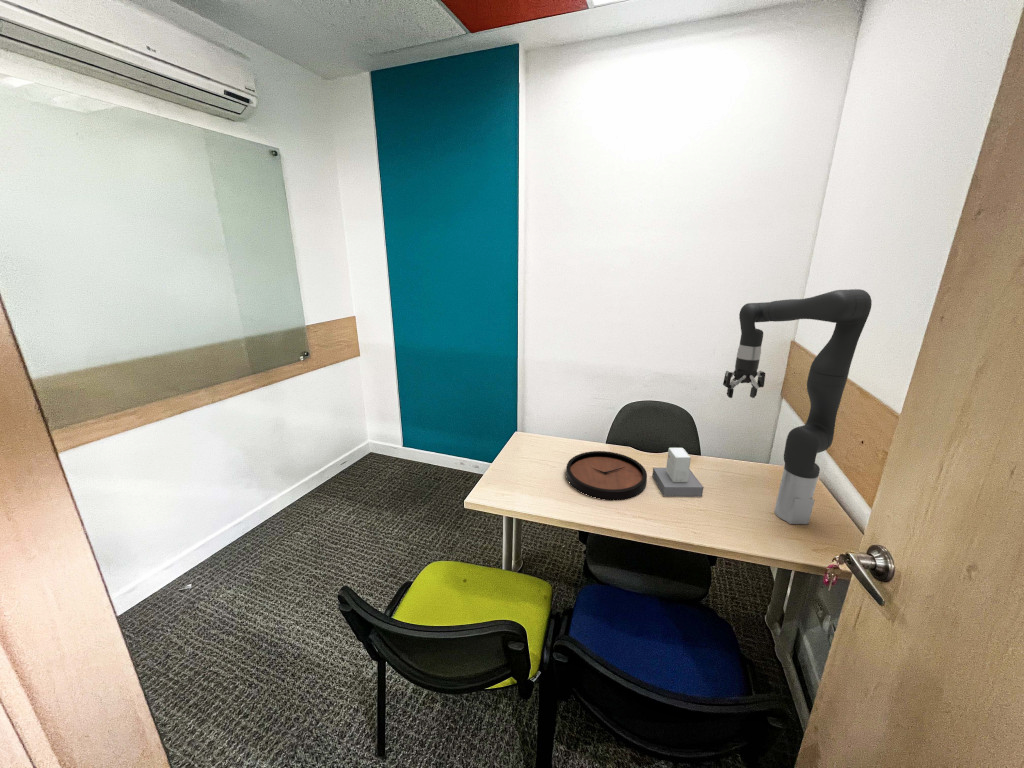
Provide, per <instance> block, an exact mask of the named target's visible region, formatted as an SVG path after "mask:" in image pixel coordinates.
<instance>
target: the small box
mask: <svg viewBox="0 0 1024 768" xmlns="http://www.w3.org/2000/svg"><path fill="white" fill-rule="evenodd" d="M691 459H692V457H691V456H690V455H689V453H688V452H687V451H686V449H684V448H683V447H669V448H668V450H667V459H666V460H667V461H666V466H665V468H666V472H667V474H668V475H669V477H670V478H671V480H672V481H673V482H688V476H689V469H690V466H691Z"/></svg>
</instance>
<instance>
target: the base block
mask: <svg viewBox="0 0 1024 768" xmlns="http://www.w3.org/2000/svg"><path fill="white" fill-rule="evenodd" d="M652 478H653V480H654V482H655V484H656V485H657V487H658V489H659V490H660V492H661V494H662V496H663V497H675V498H677V497H681V498H682V497H683V498H684V497H691V498H692V497H693V498H694V497H695V498H696V497H697V498H698V497H699V498H702V497H703V493H704V486H703V484H702V483H701V482H700V481H699V479H698V478H697V477H696V475H695V473H693V471H692V470H691V469H690V468H689V476H688V482H673V481H672V480H671V478H670V477H669V475H668V474H667V472H666V467H652Z"/></svg>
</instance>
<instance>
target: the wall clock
mask: <svg viewBox="0 0 1024 768" xmlns="http://www.w3.org/2000/svg"><path fill="white" fill-rule="evenodd" d="M565 471H566V472H565V477H566V476H567V478H566V480H567V479H568V481H569V482H570V484H571V485H572V486H573V487H574V488H576V489H577V490H579V491H580V492H582V493H584V494H587V495H589V496H588V497H590V496H592V497H591V498H593V497H596V498H595V499H597V498H600V499H599V500H602V499H605V500H604V501H613V500H615V501H624V500H625V499H626V500H631V499H632V498H633V499H634V498H635V497H638V496H639V495H641V494H642V493H643V492H644V491H645V490H646V487H647V480H648V479H647V478H648V474H647V470H646V469H645V467H644V466H643V465H642V464H641V463H640V462H638V460H636V459H634V458H632V457H630V456H628V455H624V454H621V453H617V452H613V451H603V450H602V451H601V450H596V451H595V450H593V451H592V450H591V451H586V452H581V453H579V454H577V455H574V456H573V457H571V458H570V459H569V460H568V461H567V463H566V470H565ZM568 481H567V482H568ZM569 482H568V483H569ZM570 484H569V485H570ZM571 485H570V486H571ZM572 486H571V487H572ZM573 487H572V488H573ZM574 488H573V489H574ZM577 490H576V491H577ZM579 491H578V492H579ZM580 492H579V493H580ZM582 493H581V494H582ZM584 494H583V495H584ZM587 495H586V496H587Z"/></svg>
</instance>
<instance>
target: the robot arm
mask: <svg viewBox="0 0 1024 768" xmlns="http://www.w3.org/2000/svg"><path fill="white" fill-rule="evenodd" d="M872 301H873V300H872V297H871V295H870V294H869V293H868V291H866V290H864V289H860V288H859V289H856V288H855V289H854V288H853V289H837V290H836V289H835V290H831V291H828V292H825V293H822V294H818V295H815V296H811V297H806V298H794V299H793V298H792V299H789V298H788V299H781V300H773V301H768V302H750V303H749V302H748V303H745V304H744V305H743V306H742V307H741V308H740V310H739V313H738V314H739V316H738V317H739V318H738V319H739V325H740V332H741V333H740V340H739V346H738V347H737V348H738V349H737V352H736V359H735V365H734V370H733V371H729V370H726V371H725V373H724V378H723V382H722V385H723V386H724V387H725V388H727V390H726V396H727V397H728V398H730V399H733V396H734V390H735V388H736V386H738V385H739V384H745V383H746V384H750V385H751V387H750V393H749V397H750V398H752V399H755V397H756V396H757V394H758V390H759V388H764V386H765V379H766V372H764V371H762V370H759V371H758V369H759V365H760V359H761V356H762V355H761V354H762V345H763V340H764V339H763V338H764V331H763V330H762V329H761V328H760V329H759V328H756V323H768V322H773V323H774V322H776V323H777V322H789V321H790V322H792V321H796V320H815V321H821V322H828V323H834V324H835V327H834V330H833V332H832V335H831V337H830V339H829V340H828V341H827V343H826V344H825V345H824V346H823V348H822V349H821V350H820V351H819V352H818V354H817V355H816V356H815V358H814V359H813V360H812V362H811V365H810V367H809V368H810V369H809V370H808V371H809V372H808V375H807V376H808V377H807V380H806V391H807V395H808V397H809V403H810V409H809V413H808V417H807V420H806V422H805V424H804V425H800V426H797V427H793V428H792V429H791V430H790V431H789V432H788V434H787V437H786V440H785V446H784V450H783V451H784V453H783V461H784V467H783V471H782V476H781V478H780V484H779V489H778V493H777V497H776V502H775V507H774V511H773V512H774V514H775V515H776V516H777V517H778V518H779V519H781V520H783V521H785V522H787V523H788V524H790V525H809V523H810V519H811V516H812V512H813V507H814V504H815V499H814V495H815V490H816V487H817V483H818V480H819V479H818V478H819V475H820V472H821V469H820V466H819V465H818V463H816V458H817V455H818V454H820V453H822V452H825V451H826V450H828V449H829V448H830V447H831V445H832V444H833V441H834V436H835V427H836V421H837V415H838V411H839V408H840V405H841V401H842V397H843V393H844V391H845V387H846V384H847V381H848V377H849V373H850V368H851V365H852V362H853V359H854V356H855V355H854V354H855V351H856V349H857V346H858V344H859V343H858V342H859V339H860V337H861V334H862V332H863V330H864V328H865V325H866V322H867V320H868V318H869V316H870V313H871V310H872ZM756 377H757V380H756Z"/></svg>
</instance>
